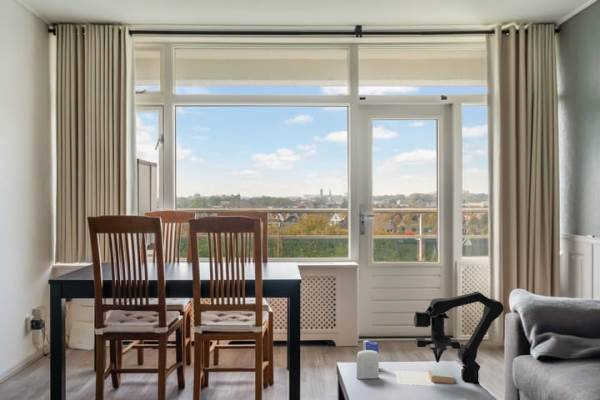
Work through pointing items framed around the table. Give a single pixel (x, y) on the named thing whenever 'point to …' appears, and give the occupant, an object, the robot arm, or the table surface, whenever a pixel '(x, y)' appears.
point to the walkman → (370, 346)
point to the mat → (413, 378)
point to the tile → (441, 376)
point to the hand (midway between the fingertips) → (437, 362)
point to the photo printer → (367, 364)
